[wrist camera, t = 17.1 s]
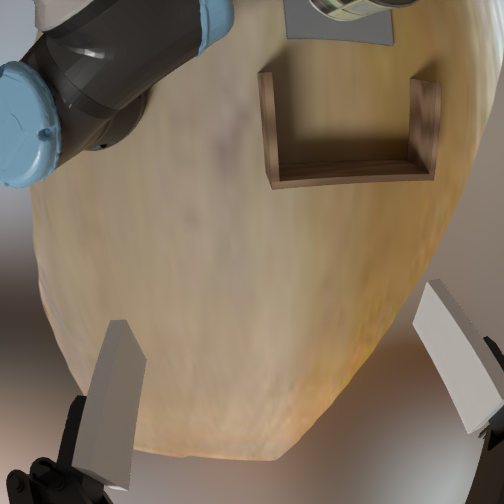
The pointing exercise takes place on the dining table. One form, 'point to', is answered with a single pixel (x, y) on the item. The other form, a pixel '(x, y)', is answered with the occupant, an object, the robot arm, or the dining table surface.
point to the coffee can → (356, 7)
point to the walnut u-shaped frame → (363, 171)
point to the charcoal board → (335, 25)
